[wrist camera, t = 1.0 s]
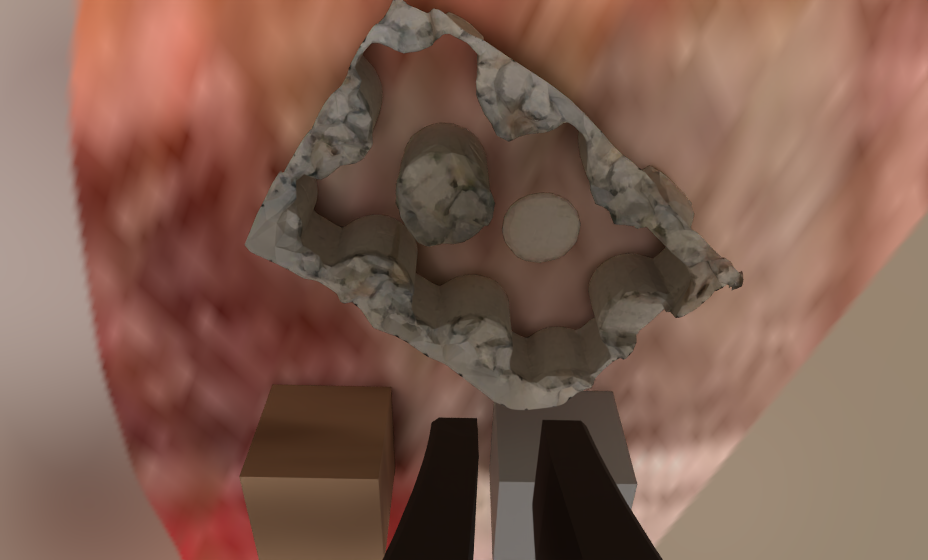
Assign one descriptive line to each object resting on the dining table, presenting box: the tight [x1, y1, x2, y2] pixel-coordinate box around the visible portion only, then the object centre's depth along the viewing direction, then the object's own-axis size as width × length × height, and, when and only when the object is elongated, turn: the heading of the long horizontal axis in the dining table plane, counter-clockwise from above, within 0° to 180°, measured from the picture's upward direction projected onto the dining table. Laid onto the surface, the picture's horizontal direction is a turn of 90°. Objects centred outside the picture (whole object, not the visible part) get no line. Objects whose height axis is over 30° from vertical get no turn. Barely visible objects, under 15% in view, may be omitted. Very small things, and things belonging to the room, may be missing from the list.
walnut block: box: [240, 385, 395, 560], centre depth 22 cm, size 4×4×4 cm
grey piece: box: [245, 0, 743, 410], centre depth 17 cm, size 11×8×4 cm
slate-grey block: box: [489, 391, 637, 560], centre depth 22 cm, size 4×4×4 cm
